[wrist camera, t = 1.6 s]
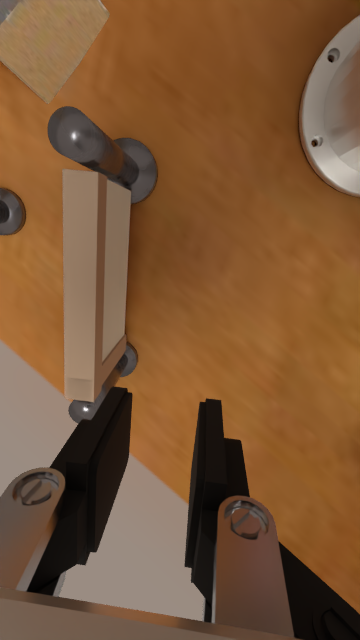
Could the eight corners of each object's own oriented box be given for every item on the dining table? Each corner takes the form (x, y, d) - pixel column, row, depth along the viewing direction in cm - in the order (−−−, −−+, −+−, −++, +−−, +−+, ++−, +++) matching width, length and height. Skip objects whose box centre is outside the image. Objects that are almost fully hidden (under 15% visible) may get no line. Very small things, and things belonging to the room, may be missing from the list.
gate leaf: (112, 189, 26) (62, 168, 17) (135, 191, 26) (98, 172, 17) (107, 348, 30) (64, 398, 21) (127, 350, 30) (93, 402, 21)
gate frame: (-23, 127, 27) (-193, 53, 16) (159, 143, 26) (121, 76, 15) (-6, 357, 33) (-119, 426, 22) (143, 376, 32) (108, 458, 21)
